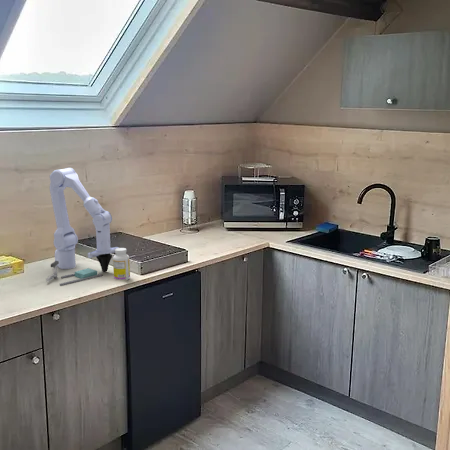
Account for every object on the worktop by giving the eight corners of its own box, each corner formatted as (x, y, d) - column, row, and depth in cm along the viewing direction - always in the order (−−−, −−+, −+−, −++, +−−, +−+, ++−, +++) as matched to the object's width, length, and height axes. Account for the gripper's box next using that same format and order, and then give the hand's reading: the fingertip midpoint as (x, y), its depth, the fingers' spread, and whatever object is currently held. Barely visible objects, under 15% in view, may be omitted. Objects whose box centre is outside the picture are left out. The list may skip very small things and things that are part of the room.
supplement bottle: (122, 275, 242) (121, 246, 240) (133, 278, 238) (132, 248, 235) (110, 279, 237) (109, 249, 235) (121, 282, 233) (119, 252, 230)
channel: (49, 282, 233) (49, 279, 233) (90, 273, 246) (90, 269, 245) (61, 288, 226) (60, 284, 226) (102, 277, 239) (102, 274, 239)
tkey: (56, 276, 238) (55, 260, 237) (59, 276, 238) (58, 260, 237) (46, 283, 228) (45, 267, 227) (49, 284, 228) (48, 267, 227)
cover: (75, 279, 238) (74, 271, 238) (88, 275, 244) (88, 268, 243) (84, 282, 235) (83, 274, 234) (97, 278, 240) (97, 270, 239)
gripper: (93, 244, 234) (94, 276, 237) (123, 239, 244) (124, 269, 247) (84, 241, 239) (86, 272, 242) (113, 236, 249) (115, 266, 252)
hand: (104, 271), depth 245 cm, fingers closed
